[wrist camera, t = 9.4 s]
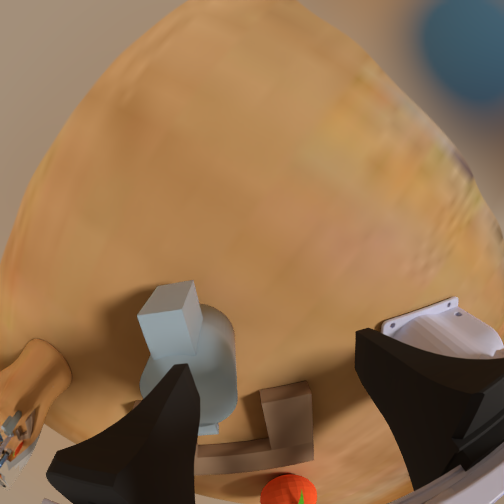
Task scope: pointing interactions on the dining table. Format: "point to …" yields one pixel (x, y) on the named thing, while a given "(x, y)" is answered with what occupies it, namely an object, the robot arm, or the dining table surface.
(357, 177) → the dining table surface
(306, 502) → the clementine
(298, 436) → the dock
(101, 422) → the dining table surface
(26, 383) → the beer glass
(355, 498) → the dining table surface
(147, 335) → the grey tabbed rounded part
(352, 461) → the dining table surface
